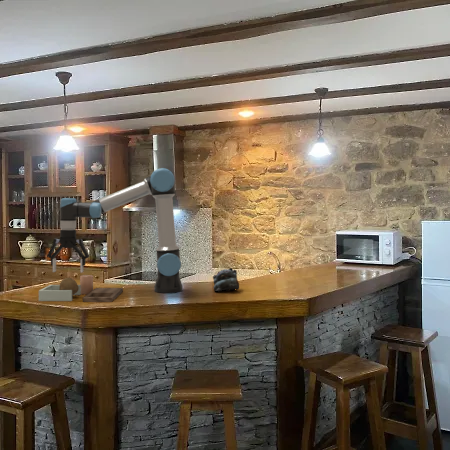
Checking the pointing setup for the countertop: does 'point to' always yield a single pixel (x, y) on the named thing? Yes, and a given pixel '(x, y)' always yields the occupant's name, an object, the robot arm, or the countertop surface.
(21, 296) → the countertop surface
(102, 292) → the brown wooden tray
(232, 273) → the grey animal figurine
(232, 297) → the countertop surface
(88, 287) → the brown rounded block
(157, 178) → the robot arm
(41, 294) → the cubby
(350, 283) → the countertop surface
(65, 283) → the natural sponge
